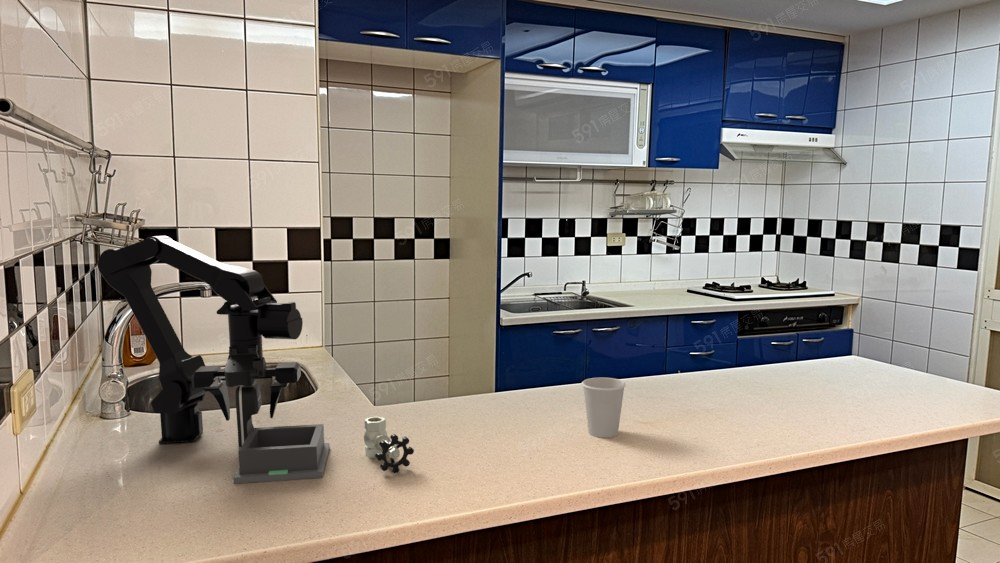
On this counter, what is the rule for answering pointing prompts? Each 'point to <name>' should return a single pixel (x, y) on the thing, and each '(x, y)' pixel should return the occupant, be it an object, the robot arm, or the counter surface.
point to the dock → (282, 454)
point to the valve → (384, 444)
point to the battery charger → (246, 409)
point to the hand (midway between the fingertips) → (250, 418)
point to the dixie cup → (603, 405)
